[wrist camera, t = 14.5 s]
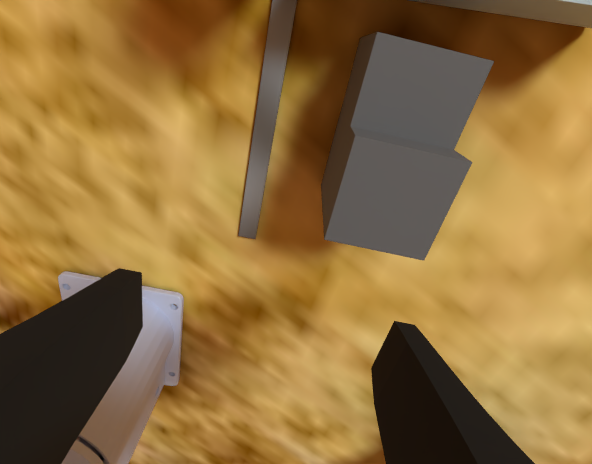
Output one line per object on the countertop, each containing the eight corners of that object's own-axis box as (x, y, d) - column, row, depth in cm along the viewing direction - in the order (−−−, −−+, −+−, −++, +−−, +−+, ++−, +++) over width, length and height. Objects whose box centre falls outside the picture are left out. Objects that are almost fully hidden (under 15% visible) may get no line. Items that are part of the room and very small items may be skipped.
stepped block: (391, 200, 18) (423, 260, 13) (321, 184, 18) (324, 239, 12) (446, 59, 14) (521, 61, 9) (360, 38, 14) (387, 28, 9)
